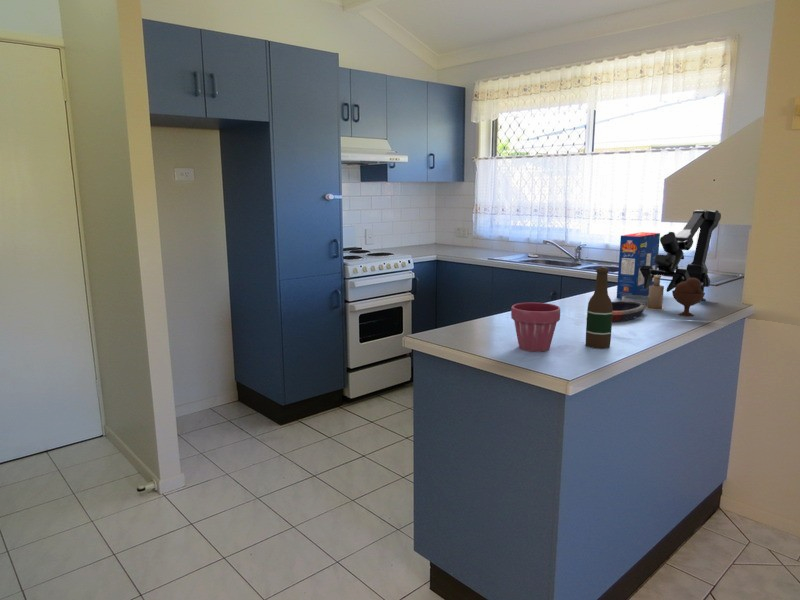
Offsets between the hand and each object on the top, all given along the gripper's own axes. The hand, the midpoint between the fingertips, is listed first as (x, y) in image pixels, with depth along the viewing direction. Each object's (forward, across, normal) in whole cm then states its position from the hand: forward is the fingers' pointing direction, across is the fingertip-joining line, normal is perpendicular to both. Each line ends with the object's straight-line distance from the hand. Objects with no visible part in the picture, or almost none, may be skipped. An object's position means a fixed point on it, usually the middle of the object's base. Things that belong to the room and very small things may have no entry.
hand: (655, 289), depth 232 cm
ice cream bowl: (+8, +14, +3) cm, 17 cm away
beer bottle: (+54, +18, -42) cm, 71 cm away
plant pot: (+66, +7, -54) cm, 86 cm away
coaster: (+5, 0, +6) cm, 8 cm away
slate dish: (+2, -10, +9) cm, 14 cm away
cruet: (+5, 0, +6) cm, 8 cm away
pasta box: (-11, -21, +23) cm, 33 cm away
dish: (+24, -2, -12) cm, 27 cm away
